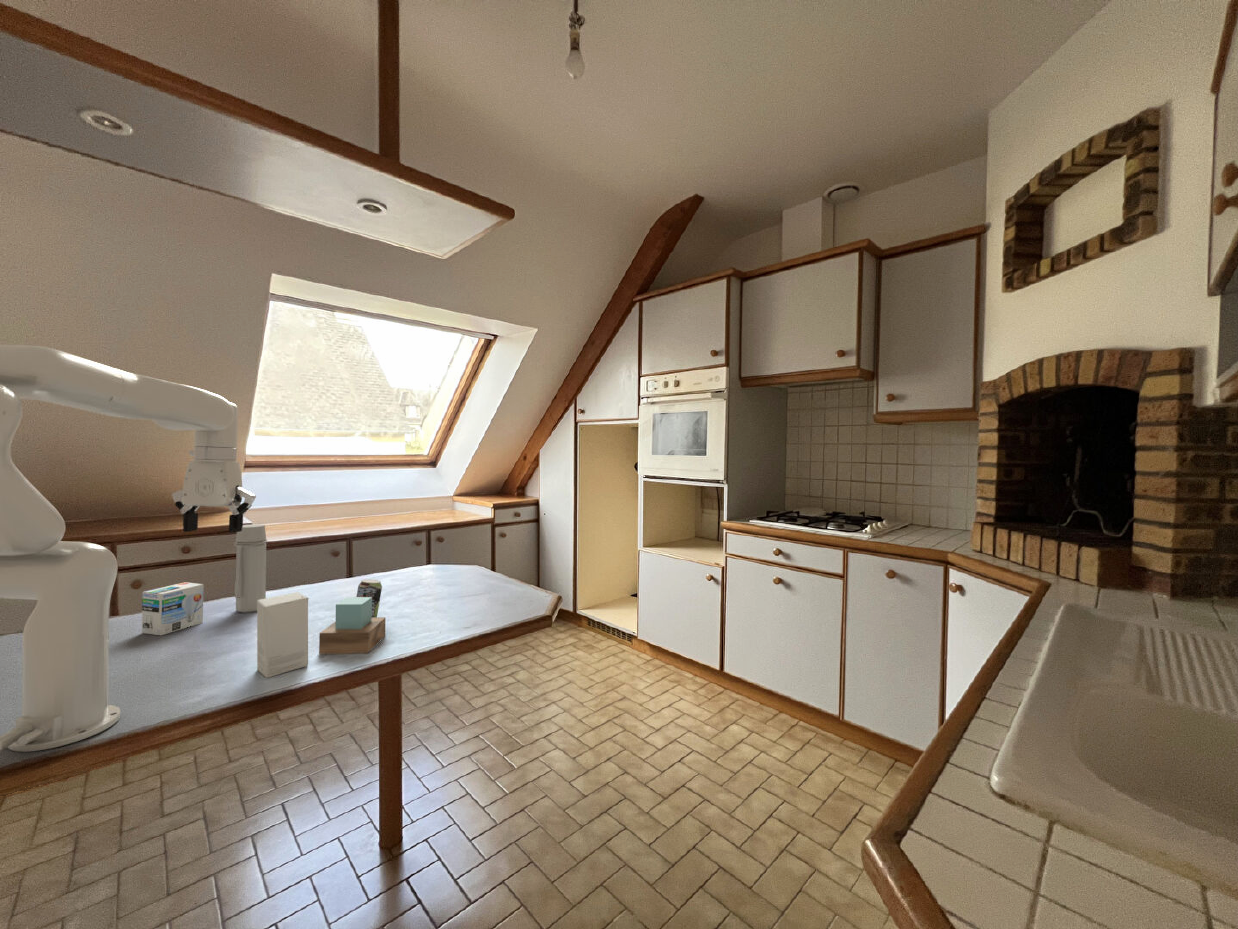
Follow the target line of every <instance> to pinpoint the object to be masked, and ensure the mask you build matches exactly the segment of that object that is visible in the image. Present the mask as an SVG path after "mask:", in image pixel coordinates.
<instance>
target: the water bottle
mask: <svg viewBox="0 0 1238 929" xmlns="http://www.w3.org/2000/svg"><path fill="white" fill-rule="evenodd" d="M235 535H236V537H235V543H234V544H233V545H234V546H235V547H236V556H235V557H236V566H235V567H236V568H235V569H236V570H235V573H236V575H235V583H234V597H235V610H236V611H237V613H242V614H244V613H245V614H246V613H254V612H257V600H260V599H266V598H267V597H266V595H267V594H266V592H267V587H266V586H267V581H266V580H267V542H268V539H267V535H266V525H265V524H259V523H258V524H256V523H255V524H254V523H253V524H243V527H242V531H240V532H236V534H235Z"/></svg>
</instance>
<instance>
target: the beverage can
mask: <svg viewBox="0 0 1238 929" xmlns="http://www.w3.org/2000/svg"><path fill="white" fill-rule="evenodd" d="M382 589H383V585H382V583H381V580H378V579H362V580H361V581H360V583H359V584H358V586H357V592H356V596H355V597H372V617H378V614H379V608H380V602H381V601H380V600H381V596H382Z"/></svg>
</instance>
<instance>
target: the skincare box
mask: <svg viewBox="0 0 1238 929" xmlns="http://www.w3.org/2000/svg"><path fill="white" fill-rule="evenodd" d="M256 628H257V629H256V635H257V636H256V638H257V640H256V642H257V643H256V646H257V648H256V649H257V650H256V653H257V654H256V656H257V657H256V661H257V662H256V663H257V664H256V665H257V667H256V668H257V671H259V672H260V674H262V675H263V676H264V677H265V679H269V678H272V677H274V676H279V675H281V674H285V673H288V672H291V671H294V670H298V669H302V668H305V667H308V666H309V597H308V596H306V595H305V594H303V593H300V592H298V591H297V592H293V593H287V594H282V595H277V596H273V597H272V596H271V597H266V599H260V600H257V611H256Z"/></svg>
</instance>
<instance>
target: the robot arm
mask: <svg viewBox="0 0 1238 929" xmlns="http://www.w3.org/2000/svg"><path fill="white" fill-rule="evenodd" d="M21 400H32V401H33V400H34V401H38V402H39V401H41V402H44V403H48V404H49V403H50V404H55V405H57V406H58V405H59V406H63V407H69V408H73V409H78V410H81V411H86V412H90V413H94V414H99V415H103V416H107V417H115V418H122V419H123V418H124V419H131V420H145V421H146V420H151V421H152V422H153V423H154V424H156V425H157V426H158V427H160V428H162V429H166V430H168V431H179V432H181V431H184V432H186V431H187V432H189V431H190V432H191V431H192V432H193V449H189V452H188V453H189V456H191V457H193V458H192V459H193V461H192V460H190V461H188V464H187V467H186V470H185V475H184V479H183V487H182V489H179V490H177V491H174V492H172V493H171V497H172V499H173V502H174V504H175V507H176V508H177V509H178V510H180V511H179V513H180V514H182V518H183V519H182V527H183V528H182V530H183V533H188V532H195V531H197V530H198V528H199V525H198V524H199V514H198V512H196V511H197V510H198V509H199V508H200V507H226V508H228V510H229V511H230V512H231V514H229V520H228V532H229V533H232V534H234V533H237V532H240V531H242V527H243V525H244V514H246V513H247V511H248V510H250V508H251V507H252V506H253V505H252V504H253V503H254V502H255V500H256V498H257V496H256V494H254V493H252V492H251V491H248V490H246V489H244V488H243V478H242V477H243V476H242V469H241V466H240V463H239V462H238V461H237V459H238V458H237V457H238V456H237V455H238V454H237V453H238V426H239V424H238V422H239V421H238V420H239V419H238V418H239V409H238V406H237V405H236V404H235V403H233V402H230V401H228V400H227V399H226V398H224V397H223V396H221V395H220V394H216V393H213V392H210V391H208V390H205V389H202V388H198V387H194V386H191V385H187V384H181V383H178V382H173V381H168V380H164V379H161V378H160V379H159V378H156V377H150V376H147V375H143V374H139V373H132V372H128V371H124V370H122V369H119V368H116V367H113V366H109V365H106V364H103V363H100V362H97V361H93V360H92V359H91V360H90V359H88V358H84V357H83V356H82V357H81V356H79V355H74V354H73V353H69V352H65V351H63V350H60V349H55V348H52V347H48V346H42V345H32V344H31V345H27V344H0V599H7V600H9V599H10V600H33V601H37V602H36V605H35V607H34V609H33V610H32V612H31V613H30V615H28V616H29V617H28V618H27V620H26V621H25V624H24V627H23V631H22V716H20V717H18V718H16V719H15V726H14V727H12V728H11V729H10V731H9V732H6V733H4V734H1V735H0V751H2V750H4V749H5V748H7V749H9V750H10V751H13V752H20V753H21V752H23V753H24V752H37V751H42V750H43V751H44V750H45V751H46V750H50V749H53V748H58V747H62V746H66V745H69V744H73V743H76V742H79V741H82V740H85V739H87V738H90V737H93V736H95V735H97V734H99V733H102V732H103V731H105V730H107V729H108V728H110V727H112V726H113V725H115V723H117V722H118V721H119V719H120V718H121V708H119V707H118V706H117V705H111V704H109V645H110V644H109V643H110V642H109V638H110V636H109V632H110V631H109V627H110V626H109V623H110V622H109V621H110V603H111V598H112V593H113V588H114V587H115V586H114V585H115V583H116V579H117V575H118V568H119V566H118V565H119V564H118V560H117V558H116V556H115V554H114V553H113V552H112V551H111V550H109V549H108V548H106V547H105V546H102V545H100V544H97V543H93V542H92V543H91V542H86V541H70V540H69V541H65V540H64V541H63V540H62V539H63V537H64V535H65V533H66V523H65V520H64V518H63V516H62V515H61V513H60V512H59V511H58V510H57V508H56V507H55V506H54V505H53V504H52V503H51V502H50V501H49V500H48V499H47V498H46V497H45V496H44V495H43V494H42V493H41V492H40V491H39V490H38V489H37V488H36V487H35V486H34V485H33V484H32V483H31V481H30V480H28V479H27V478H26V477H25V476H24V474H22V472H21V471H20V470H19V469H18V468H17V466H16V465H15V463H14V462H13V459H12V454H11V452H12V451H11V449H12V443H13V440H14V437H15V434H16V432H17V430H18V428H19V426H20V424H21V421H22V418H23V413H24V412H23V411H24V410H23V405H22V402H21ZM243 498H244V501H243ZM242 502H243V503H242Z"/></svg>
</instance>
